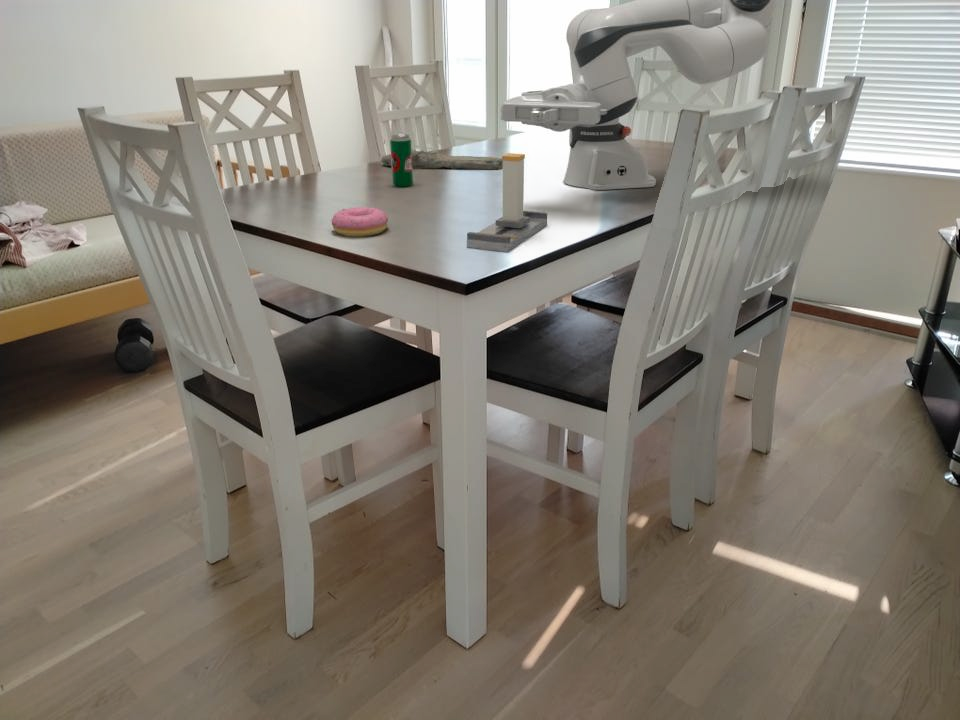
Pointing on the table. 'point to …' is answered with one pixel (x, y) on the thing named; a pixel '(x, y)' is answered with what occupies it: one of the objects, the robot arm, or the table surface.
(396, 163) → the soda can
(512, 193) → the fader tab
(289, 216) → the table surface
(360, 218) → the doughnut
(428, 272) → the table surface
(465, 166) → the elongated rock
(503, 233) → the fader rail
